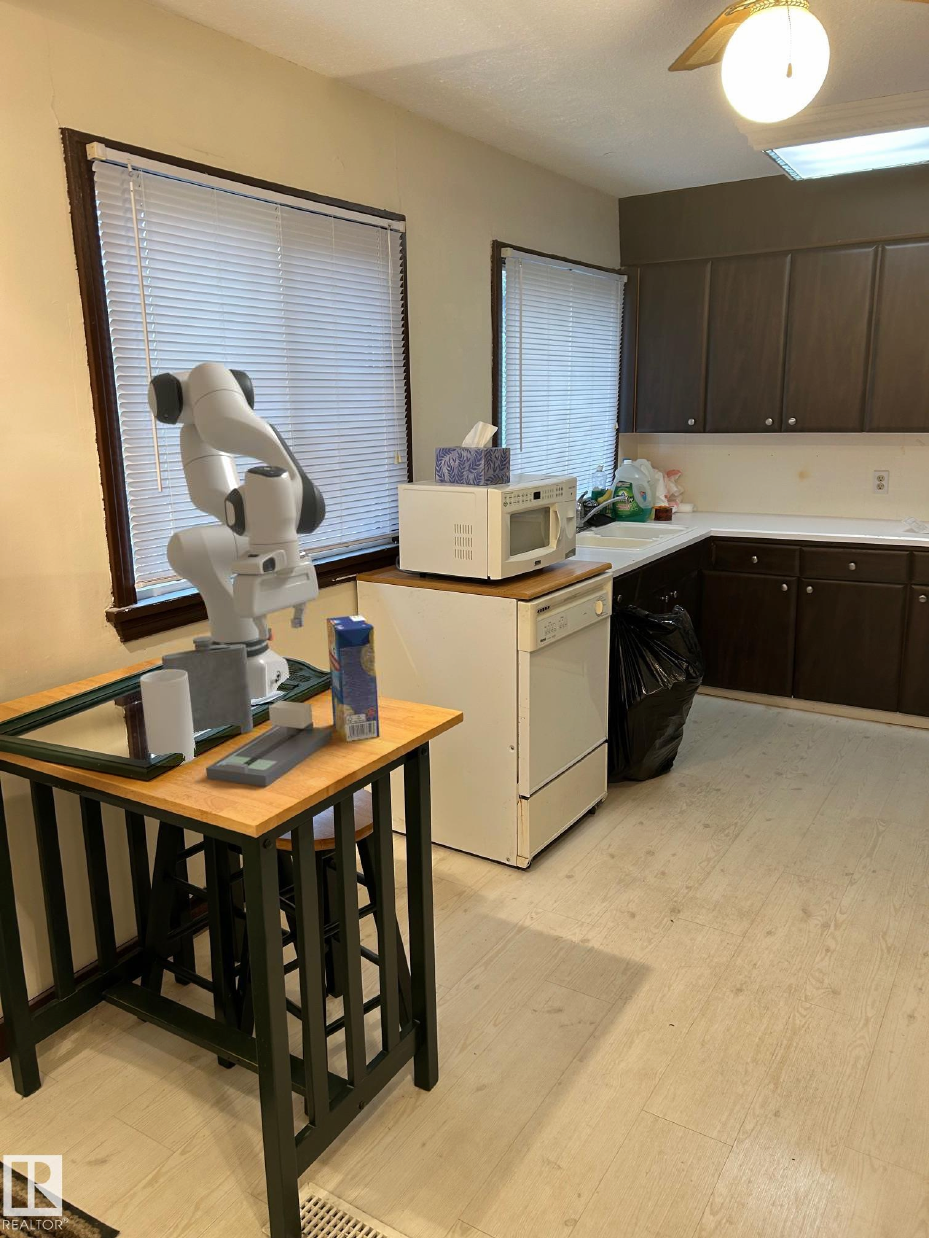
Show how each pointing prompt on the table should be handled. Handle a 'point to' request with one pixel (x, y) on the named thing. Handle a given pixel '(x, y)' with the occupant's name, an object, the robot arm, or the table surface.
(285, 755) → the fader console
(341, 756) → the table surface
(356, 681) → the beverage box
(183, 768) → the table surface
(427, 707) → the table surface
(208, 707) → the hip flask
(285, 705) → the fader knob
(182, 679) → the cup
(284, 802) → the table surface
